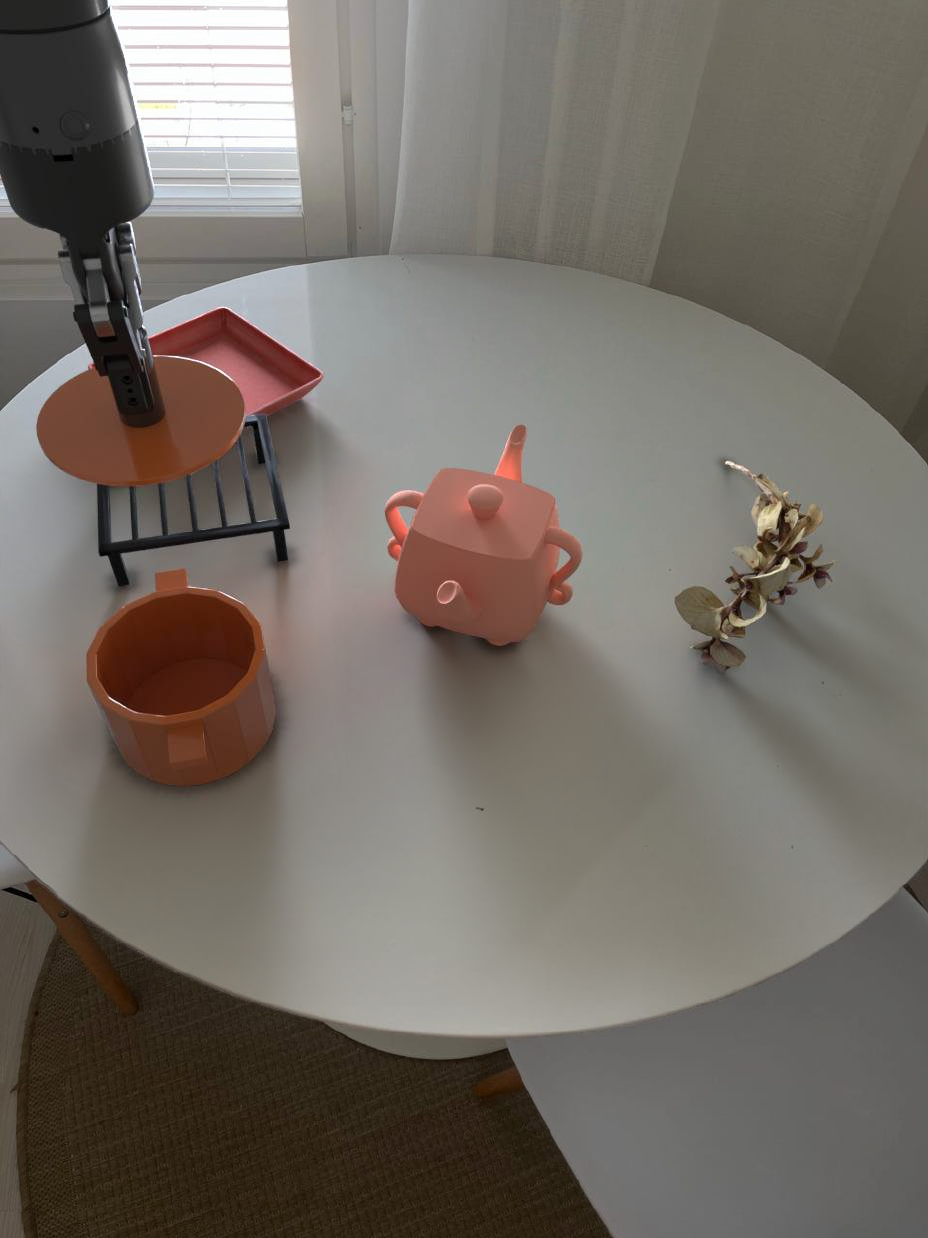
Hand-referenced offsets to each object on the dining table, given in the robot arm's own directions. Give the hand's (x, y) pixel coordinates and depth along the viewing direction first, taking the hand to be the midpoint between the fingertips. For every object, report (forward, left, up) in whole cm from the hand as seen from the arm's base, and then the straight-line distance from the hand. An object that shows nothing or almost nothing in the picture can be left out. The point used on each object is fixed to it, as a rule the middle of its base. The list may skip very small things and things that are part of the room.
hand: (136, 392), depth 59 cm
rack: (+1, +14, -24) cm, 28 cm away
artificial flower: (+50, -3, -24) cm, 56 cm away
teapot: (+24, -2, -24) cm, 34 cm away
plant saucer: (+4, +33, -24) cm, 41 cm away
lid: (0, 0, -2) cm, 2 cm away
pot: (-1, -9, -24) cm, 26 cm away
